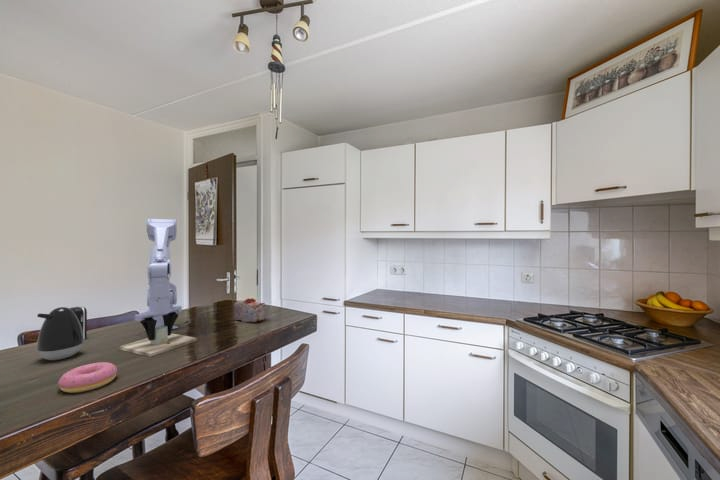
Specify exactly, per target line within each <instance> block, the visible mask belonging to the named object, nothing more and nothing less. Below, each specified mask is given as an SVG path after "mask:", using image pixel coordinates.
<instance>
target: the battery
mask: <svg viewBox="0 0 720 480" xmlns="http://www.w3.org/2000/svg"><path fill="white" fill-rule="evenodd" d="M68 308H69V309H71V310H72V311H73V312H74V313H75V315H76V316H77V318H78V320H79V322H80V324H81V327H82V331H83V337H84V340H85V339H87V338H88V335H87V333H88V332H87V331H88V330H87V328H88V326H87V325H88V315H87V314H88V312H87V308H86V307H84V306H75V307H68Z"/></svg>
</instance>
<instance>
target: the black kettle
mask: <svg viewBox="0 0 720 480" xmlns="http://www.w3.org/2000/svg"><path fill="white" fill-rule="evenodd" d="M69 308H70V307H66V306H61V307H57V308H54V309H53V310H51V311H50V312H49V313H38V314H37V318H41V319H44V321H43V323H42V325H41V328H40V330H39V333H38V337H37V342H36V351H38V354H39V355H40V357H42V358H43V359H45V360H47V361H59V360H60V361H61V360H63V359H68V358H70V357H73V356H75V355H76V354H77V353H78V352H79V351H80V350H81V347H82V345H83V343H84V342H85V339H84V337H83V331H82V327H81V324H80V322H79V320H78V318H77V316H76V315H75V313H74V312H73V311H72V310H71V309H69Z"/></svg>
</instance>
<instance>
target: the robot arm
mask: <svg viewBox="0 0 720 480" xmlns="http://www.w3.org/2000/svg"><path fill="white" fill-rule="evenodd" d="M146 233H147V237H148V239H149V240H150V241H152V242H154V246H153V247H152V248H151V249H150V255H149V256H150V257H149V258H150V259H149V263H148V265H147V269H146V270H147V272H146V273H147V279H148V285H149V286H148V288H147V294H146V303H147V304H146V306H147V307H148V310H147V311H144V312H140V313H138V314H134V322H140V324H141V325H142V326H143V331H144V332H146V335H147V338H148V340H154V339H155V326H160V325H167V326H168V336H169V335H171V333H172V330H175V329H178V328H179V326H177V325H174V324H175V323H176V321H177V319H178V318H179V313H181V312H182V310H183V309H182V306H181V305H176V304H177V303H178V302H177V299H178V293H177V292H178V291H177V286H176V285H175V284H174V283H172V282H171V281H170V278H171V277H172V264H171V260H170V259H171V258H170V257H171V250H170V244H171V242H174V241H175V240H176V238H177V220H176V219H175V218H172V219H171V218H150V217H149V218H148V219H146Z"/></svg>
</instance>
